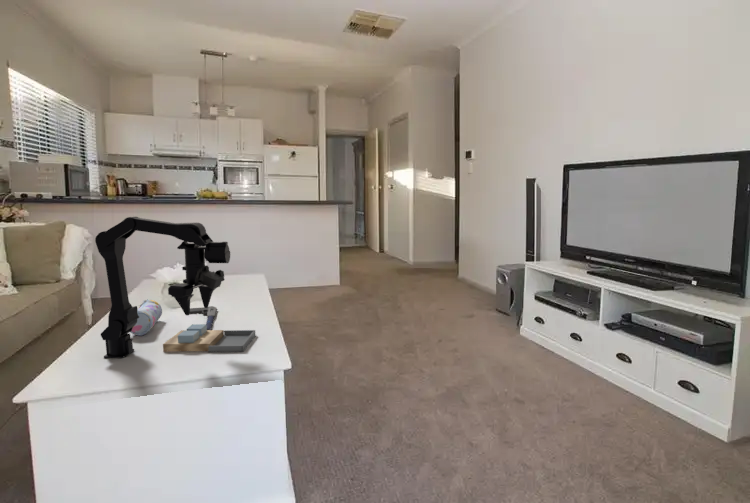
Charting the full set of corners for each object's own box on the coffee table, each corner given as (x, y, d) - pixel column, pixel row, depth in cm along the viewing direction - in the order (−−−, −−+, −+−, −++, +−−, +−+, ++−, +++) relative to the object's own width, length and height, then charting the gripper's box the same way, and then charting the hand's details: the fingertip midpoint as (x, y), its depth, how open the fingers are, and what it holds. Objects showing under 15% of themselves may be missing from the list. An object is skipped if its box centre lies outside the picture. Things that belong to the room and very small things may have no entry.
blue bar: (188, 307, 189) (217, 304, 192) (189, 312, 189) (218, 309, 192) (176, 332, 156) (212, 327, 159) (177, 337, 156) (212, 333, 160)
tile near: (178, 343, 141) (177, 335, 141) (184, 337, 146) (184, 330, 146) (193, 342, 142) (193, 335, 141) (199, 337, 146) (199, 330, 146)
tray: (208, 352, 140) (207, 346, 140) (224, 335, 156) (223, 330, 156) (243, 351, 140) (242, 345, 140) (255, 335, 156) (255, 330, 156)
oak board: (163, 351, 141) (162, 344, 140) (181, 337, 155) (181, 330, 154) (209, 351, 141) (209, 343, 141) (223, 336, 155) (223, 330, 155)
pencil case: (139, 321, 174) (138, 298, 173) (163, 319, 176) (161, 297, 175) (126, 338, 154) (123, 312, 153) (152, 336, 156) (150, 310, 155)
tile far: (186, 335, 148) (186, 328, 148) (192, 331, 153) (192, 324, 153) (201, 335, 148) (201, 328, 148) (206, 331, 153) (206, 324, 153)
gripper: (198, 269, 125) (200, 322, 127) (234, 260, 143) (235, 306, 145) (165, 267, 128) (168, 318, 130) (205, 258, 146) (206, 303, 148)
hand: (197, 311), depth 138 cm, fingers open, 9 cm apart
